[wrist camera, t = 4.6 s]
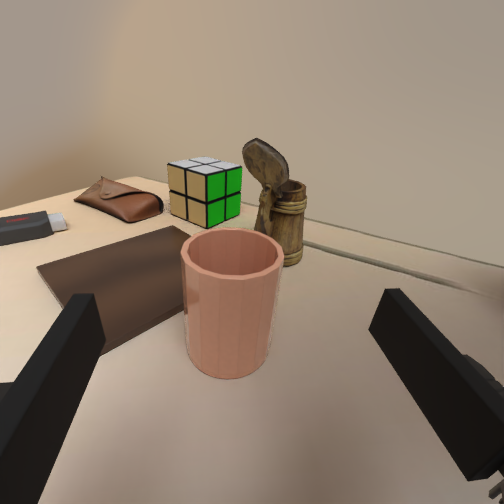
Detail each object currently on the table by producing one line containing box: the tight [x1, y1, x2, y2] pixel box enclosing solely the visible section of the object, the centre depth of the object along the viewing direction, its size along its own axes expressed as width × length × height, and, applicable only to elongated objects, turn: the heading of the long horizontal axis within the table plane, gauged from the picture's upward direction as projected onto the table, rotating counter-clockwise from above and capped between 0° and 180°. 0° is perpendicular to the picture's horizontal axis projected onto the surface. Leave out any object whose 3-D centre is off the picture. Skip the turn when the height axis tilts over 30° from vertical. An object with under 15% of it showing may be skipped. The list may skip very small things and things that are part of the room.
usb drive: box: [0, 211, 67, 246], centre depth 42 cm, size 5×12×3 cm, turn 128°
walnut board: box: [36, 225, 191, 356], centre depth 36 cm, size 18×20×1 cm
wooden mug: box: [242, 138, 307, 266], centre depth 38 cm, size 9×14×18 cm, turn 147°
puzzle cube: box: [167, 157, 242, 229], centre depth 53 cm, size 10×10×10 cm
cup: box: [180, 227, 284, 379], centre depth 25 cm, size 8×8×11 cm
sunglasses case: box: [74, 177, 164, 222], centre depth 55 cm, size 18×7×7 cm, turn 60°
